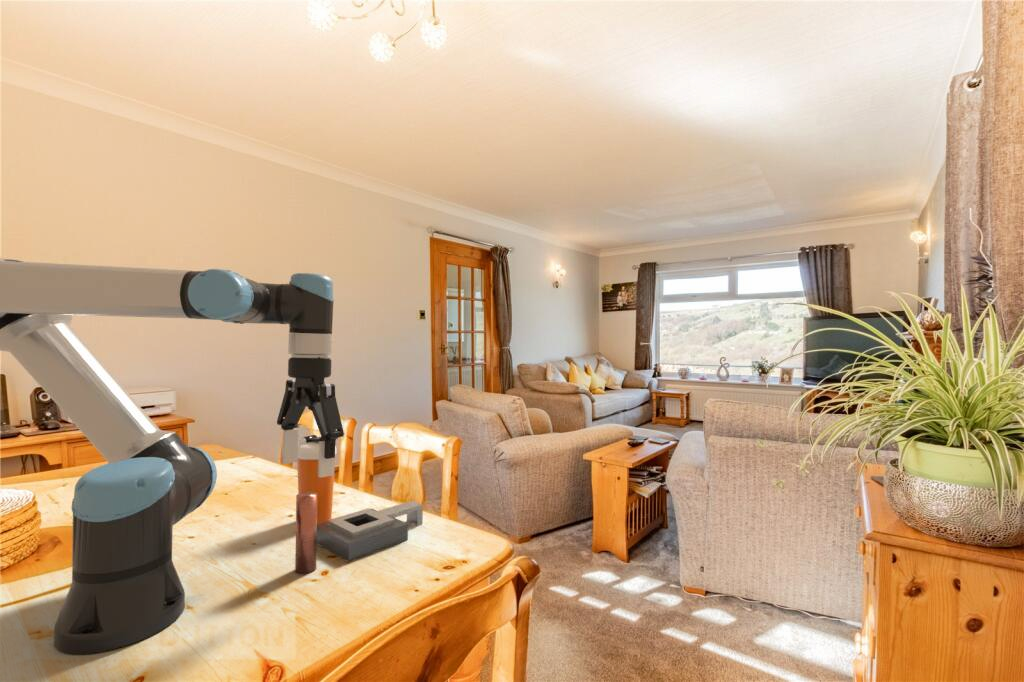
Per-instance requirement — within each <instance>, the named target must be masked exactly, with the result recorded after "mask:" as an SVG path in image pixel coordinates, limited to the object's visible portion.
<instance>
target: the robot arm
mask: <svg viewBox="0 0 1024 682" xmlns="http://www.w3.org/2000/svg"><path fill="white" fill-rule="evenodd" d="M333 283H334V282H333V280H332V279H331V278H330V276H328V275H324V274H318V273H309V272H308V273H307V272H306V273H305V272H303V273H297V272H296V273H293V274H292V275H291V276H290V281H289V283H267V282H266V283H265V282H257V281H255V280H252V279H249V278H247V277H244V276H242V275H241V274H239V273H236V272H234V271H232V270H227V269H220V268H210V269H206V270H203V271H202V270H199V271H198V270H189V269H188V270H187V269H185V270H184V269H170V268H169V269H168V268H167V269H166V268H148V267H147V268H145V267H144V268H143V267H130V266H129V267H125V266H110V265H109V266H108V265H105V266H104V265H88V264H87V265H85V264H74V263H73V264H72V263H71V264H69V263H68V264H67V263H52V262H30V261H23V260H22V261H21V260H18V259H17V260H16V259H7V258H6V259H5V258H2V257H1V256H0V352H8V353H10V354H11V355H12V356H13V357H14V358H15V360H16V361H17V362H18V363H19V364H20V365H21V366H22V367H23V368H24V370H25V371H26V372H27V373H28V374H29V376H31V377H32V379H34V380H35V382H36V383H37V385H38V386H40V388H41V389H42V390H43V391H44V392H45V393H46V394H47V396H48V397H50V398H51V400H52V401H53V402H54V403H55V404H56V405H57V406H58V408H60V409H61V411H62V412H63V413H64V414H65V415H66V416H67V418H68V419H69V420H70V421H71V423H73V424H74V426H75V427H76V428H77V429H78V430H79V431H80V432H81V433H82V434H83V436H85V438H86V439H87V440H88V441H89V442H90V444H91V445H92V446H93V447H94V448H95V449H96V450H97V451H98V453H100V454H101V456H102V457H103V458H104V459H105V460H106V461H107V463H104V464H102V465H100V466H98V467H97V466H96V467H95V468H93V469H91V470H89V471H87V472H86V473H85V474H83V475H82V476H81V477H80V478H78V480H77V481H76V483H75V487H74V492H73V493H74V495H73V499H72V502H71V512H72V553H71V554H72V555H71V556H72V557H71V560H72V561H71V563H72V564H71V567H72V570H71V571H72V574H71V575H72V576H71V577H72V578H71V585H70V587H69V590H68V592H67V594H66V596H65V599H64V602H63V604H62V607H61V609H60V612H59V614H58V617H57V619H56V622H55V624H54V629H53V646H54V647H55V648H56V649H57V650H58V651H60V652H62V653H65V654H75V655H81V654H82V655H86V654H93V653H94V654H95V653H101V652H106V651H111V650H114V649H119V648H122V647H125V646H129V645H132V644H134V643H137V642H139V641H142V640H144V639H146V638H149V637H151V636H153V635H155V634H157V633H158V632H161V631H162V630H165V628H167V627H169V626H170V625H171V624H173V623H174V622H175V621H177V620H178V618H180V616H181V615H182V614H183V613H184V611H185V604H186V603H185V601H186V600H185V599H186V597H185V595H186V594H185V589H184V586H183V584H182V582H181V578H180V577H179V574H178V572H177V570H176V567H175V565H174V562H173V526H175V525H176V524H178V522H180V521H181V520H182V519H184V518H185V517H187V516H188V515H189V514H191V513H193V512H194V511H195V510H197V508H200V507H201V506H202V505H203V504H204V503H205V501H206V500H207V499H208V498H209V496H210V495H211V494H212V492H213V491H214V488H215V487H216V484H217V478H218V471H217V467H216V463H215V462H214V459H213V458H212V456H210V454H209V453H207V452H206V451H205V450H203V449H201V448H199V447H197V446H196V447H195V446H190V445H188V444H186V443H185V442H184V440H183V439H182V438H181V437H180V436H179V434H178V433H177V432H175V431H171V430H170V431H169V430H162V429H160V427H158V425H157V424H156V423H155V422H154V421H153V420H152V419H151V417H150V416H149V415H148V414H147V413H146V412H145V410H144V409H143V408H142V407H141V406H140V405H139V404H138V403H137V401H136V400H135V399H134V398H133V397H132V396H131V394H130V393H129V392H128V391H127V390H126V388H125V387H123V385H122V384H121V383H120V382H119V380H117V378H116V377H115V376H114V375H113V374H112V373H111V371H110V370H109V369H108V368H107V366H105V364H104V363H103V362H102V361H101V360H100V359H99V358H98V357H97V355H96V354H95V353H94V352H93V351H92V349H91V348H90V347H89V346H88V344H87V343H85V341H83V339H82V338H81V337H80V336H79V335H78V334H77V332H76V331H75V330H74V329H73V328H72V326H71V322H72V321H73V318H74V317H73V316H96V317H97V316H98V317H122V318H123V317H126V318H127V317H129V318H131V317H132V318H155V319H156V318H160V319H161V318H162V319H164V318H166V319H189V320H190V319H194V320H209V321H210V320H216V321H222V322H225V323H233V324H240V325H241V324H242V325H243V324H244V325H245V324H261V325H262V324H266V325H267V324H268V325H269V324H273V325H275V324H277V325H278V324H280V325H288V327H289V330H288V352H287V353H288V354H289V355H291V357H289V358H288V359H287V365H288V366H287V376H288V377H289V378H293V379H287V380H286V381H285V388H284V389H285V391H284V394H283V398H282V402H281V406H280V408H279V412H278V416H277V420H276V424H277V426H280V427H281V430H282V451H281V453H282V454H281V455H282V458H281V460H282V462H281V463H282V464H283V465H287V464H293V463H297V462H298V447H299V428H300V425H299V424H298V423H299V422H300V420H301V417H302V415H303V414H304V411H305V409H306V408H308V410H309V411H311V412H312V415H313V417H314V420H315V423H316V426H317V429H318V431H319V434H320V436H319V437H320V439H319V461H318V477H320V478H322V477H326V476H331V475H334V476H335V469H334V468H335V467H336V466H335V465H336V456H335V446H336V443H337V442H336V441H337V439H339V438H342V437H344V433H345V432H344V427H343V423H342V420H341V415H340V410H339V406H338V401H337V398H336V386H335V384H334V383H328V384H327V383H325V379H326V378H330V377H331V376H332V359H331V357H329V356H330V355H332V348H333V347H332V345H333V337H332V335H333V319H334V302H335V300H334V289H333V288H334V285H333Z"/></svg>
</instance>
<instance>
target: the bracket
mask: <svg viewBox="0 0 1024 682" xmlns="http://www.w3.org/2000/svg"><path fill="white" fill-rule="evenodd" d="M372 509H373V508H372ZM372 509H371V508H369V507H368V508H365V509H362V510H358V511H354V512H351V513H347V514H345V515H341V516H337V517H334V518H331V519H330V520H328V521H327V525H328V526H330V527H332V528H334V529H336V530H338V531H340V532H342V533H344V534H346V535H348V536H350V537H352V538H354V537H357V536H360V535H363V534H366V533H369V532H372V531H375V530H378V529H381V528H384V527H387V526H390V525H393V524H395V519H393V518H398V517H401V516H404V515H406V522H407V523H408V522H409V523H411V524H413V525H415V526H419V525H423V509H424V505H423V504H422V503H420V502H417V501H415V500H410V501H406V502H403V503H399V504H397V505H393V506H388V507H386V508H383V509H380V510H376V511H374V510H375V509H374V510H372ZM363 518H367V519H369V520H371V521H373V522H370V523H366V524H363V525H360V526H355V525H353V524H350V522H353V521H357V520H360V519H363Z"/></svg>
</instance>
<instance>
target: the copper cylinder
mask: <svg viewBox="0 0 1024 682" xmlns="http://www.w3.org/2000/svg"><path fill="white" fill-rule="evenodd" d="M295 497H296V499H295V502H296V504H295V554H294V555H295V560H294V561H295V563H294V564H295V565H294V567H295V569H294V571H295V574H297V575H301V576H302V575H308V574H311V573H313V572H315V571H316V570H317V545H318V544H317V493H316V492H303V493H300V494H298V493H297V494H296V496H295Z"/></svg>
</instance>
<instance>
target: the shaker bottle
mask: <svg viewBox="0 0 1024 682" xmlns="http://www.w3.org/2000/svg"><path fill="white" fill-rule="evenodd" d="M320 437H321V436H317V435H316V434H311V435H307V436H303V437H300V439H298V462H296V463H297V465H296V467H297V489H298V490H297V491H298V492H297V494H300V493H303V492H316V493H317V524H320V523H323V522H327V521H328V520H330V519H332V517H333V516H332V515H333V514H332V513H333V499H334V483H335V474H334V475H331V476H326V477H322V478H320V477H318V461H319V439H320ZM336 455H337V446H336V445H335V457H336ZM334 470H335V468H334Z"/></svg>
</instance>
